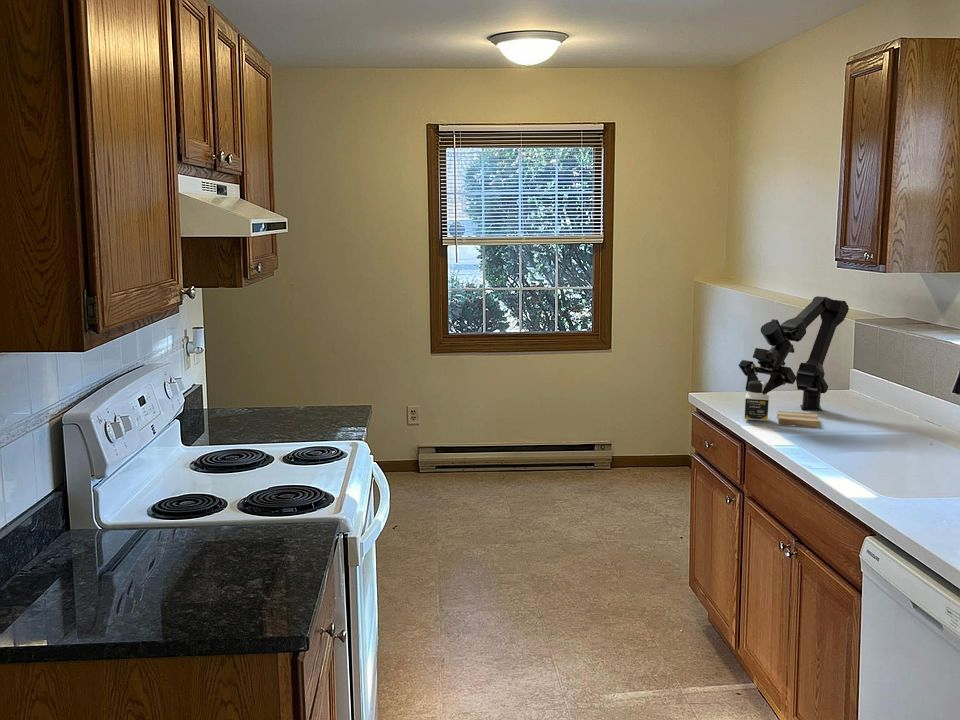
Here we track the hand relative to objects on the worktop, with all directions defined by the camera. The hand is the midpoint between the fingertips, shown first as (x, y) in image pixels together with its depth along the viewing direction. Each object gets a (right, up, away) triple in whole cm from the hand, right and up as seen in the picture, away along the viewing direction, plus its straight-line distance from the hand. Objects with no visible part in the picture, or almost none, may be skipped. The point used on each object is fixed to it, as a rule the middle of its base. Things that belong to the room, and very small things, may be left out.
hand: (754, 392), depth 306 cm
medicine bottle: (+1, -9, +2) cm, 9 cm away
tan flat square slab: (+14, -10, 0) cm, 17 cm away
